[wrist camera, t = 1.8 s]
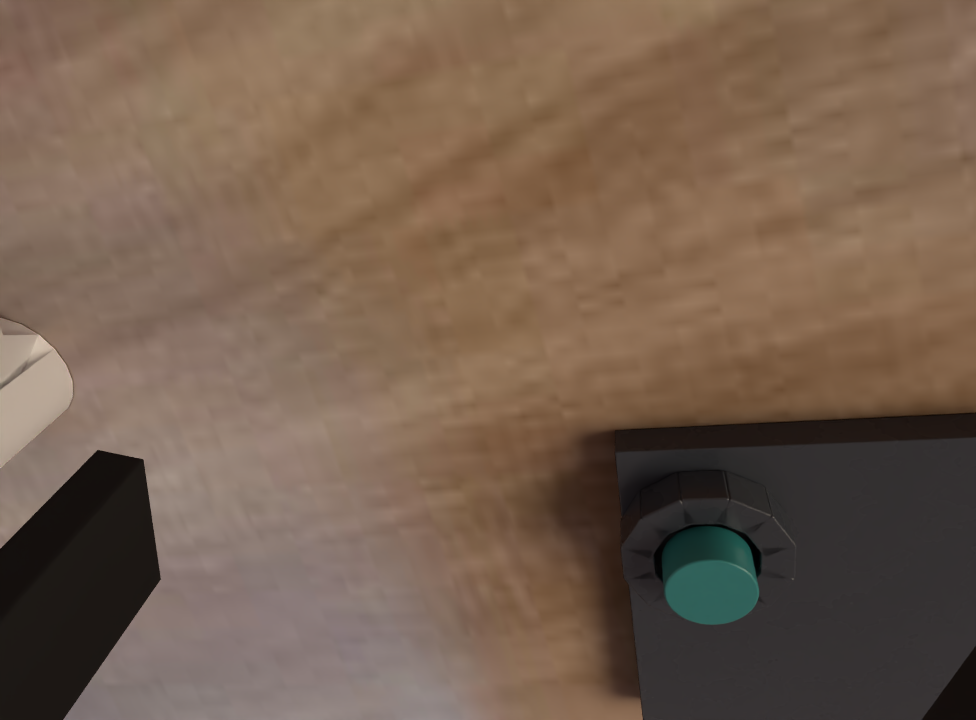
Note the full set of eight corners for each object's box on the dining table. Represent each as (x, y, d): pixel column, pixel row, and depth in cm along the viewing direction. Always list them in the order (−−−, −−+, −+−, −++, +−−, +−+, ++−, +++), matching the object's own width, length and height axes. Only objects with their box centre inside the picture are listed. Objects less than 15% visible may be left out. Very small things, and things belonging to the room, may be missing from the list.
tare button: (751, 523, 26) (760, 560, 25) (751, 588, 28) (759, 625, 26) (659, 525, 27) (661, 560, 25) (663, 588, 28) (666, 625, 27)
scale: (1098, 407, 25) (1153, 462, 22) (1014, 710, 33) (1048, 777, 30) (613, 430, 28) (613, 480, 26) (641, 699, 36) (643, 758, 33)
